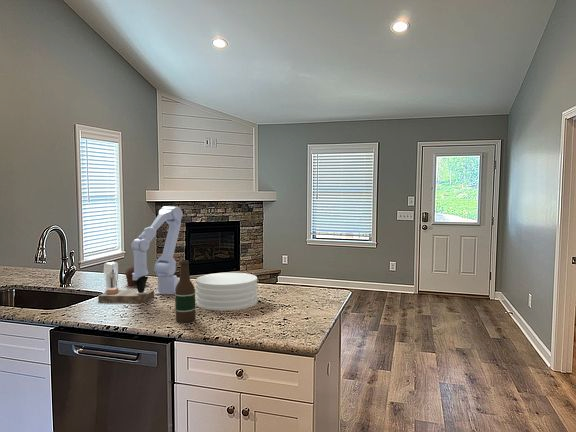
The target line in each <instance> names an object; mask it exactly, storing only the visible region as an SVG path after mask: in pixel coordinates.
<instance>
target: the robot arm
mask: <svg viewBox="0 0 576 432" xmlns="http://www.w3.org/2000/svg"><path fill="white" fill-rule="evenodd" d="M183 214H184V213H183V211H182V209H181V207H180V206H166V205H165V206H162V207H161V208H160V209H159V211H158V214H157V216H156V217H155V219H154V220H153V222H152V224H151V225H150V226H147V227H145V228H144V229H143V231H142V232H141V233H140V235H138V237H137V238H136V239H133V240H132V242H131V245H130V248H131V250H132V254H133V266H134V273H132V275H133V276H132V277H133V280H134V282H135V283H136V286H135V287H136V289H137V290H138V292H139V293H143V292H144V290H146V289H145V288H146V283H147V282H148V279H149V276H148V275H149V270H148V263H147V262H148V261H147V258H148V257H147V255H148V254H147V253H148V252H147V251H148V250H149V249H150V244H151V242H152V241H153V239H154V238H155V237H156V235H157V230H158V229H160V227H161V226H162V225H164V223H165V222H166V224H168V230H167V233H166V239H165V242H164V247H163V251H162V253H161V256H159V257H158V258H157V260H156V262H155V264H154V268H153V269H154V272H155V273H156V276H157V291H156V292H154V295H175V288H176V286H177V284H178V282H179V280H178V276H177V275H174V274H175V273H176V270H177V265H176V264H177V261H176V259H175V258H174V256H175V255H174V254H175V250H176V247H177V242H178V239H179V234H180V229H181V224H182V217H183ZM145 275H146V276H145Z"/></svg>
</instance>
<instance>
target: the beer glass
mask: <svg viewBox="0 0 576 432" xmlns="http://www.w3.org/2000/svg"><path fill="white" fill-rule="evenodd" d="M103 277H104V282H105V291H104V293H105V292H106V290H107V289H109V288H118V280H119V262H117V261H116V262H114V261H110V262H103Z"/></svg>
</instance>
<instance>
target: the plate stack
mask: <svg viewBox="0 0 576 432" xmlns="http://www.w3.org/2000/svg"><path fill="white" fill-rule="evenodd" d="M195 283H196V284H195V289H196V290H195V306H197V307H198V308H200V309H204V310H207V311H208V310H209V311H220V312H221V311H222V312H223V311H225V312H226V311H237V310H243V309H248V308H250V307H253V306H256V305H257V304H258V301H259V300H258V277H257V275H254V274H251V273H244V272H219V273H218V272H217V273H210V274H205V275H201V276H198V277H196V279H195Z"/></svg>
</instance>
